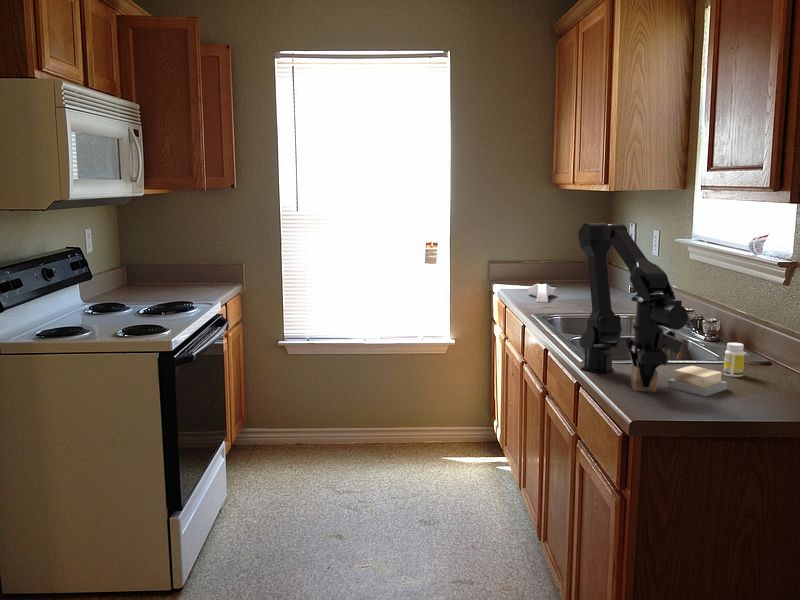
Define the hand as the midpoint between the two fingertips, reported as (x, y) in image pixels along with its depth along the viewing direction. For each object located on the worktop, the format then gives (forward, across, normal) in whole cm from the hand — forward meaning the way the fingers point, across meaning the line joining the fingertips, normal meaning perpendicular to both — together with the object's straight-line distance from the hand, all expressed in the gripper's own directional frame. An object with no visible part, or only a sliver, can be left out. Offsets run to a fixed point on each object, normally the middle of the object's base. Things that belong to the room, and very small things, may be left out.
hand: (643, 384), depth 188 cm
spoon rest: (+2, +141, +12) cm, 141 cm away
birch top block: (-1, +2, -13) cm, 13 cm away
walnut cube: (+1, 0, 0) cm, 1 cm away
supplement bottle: (+1, +17, -27) cm, 32 cm away
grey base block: (+2, +2, -13) cm, 14 cm away
